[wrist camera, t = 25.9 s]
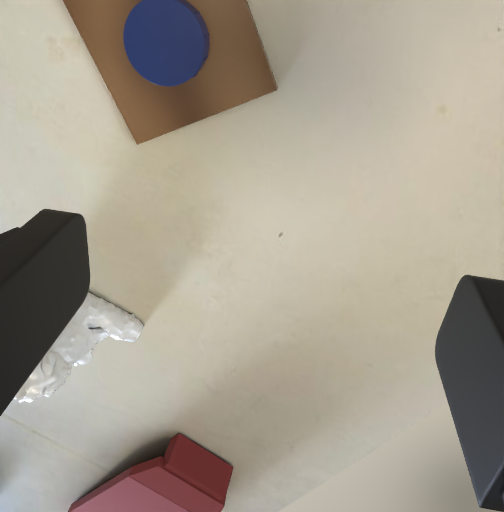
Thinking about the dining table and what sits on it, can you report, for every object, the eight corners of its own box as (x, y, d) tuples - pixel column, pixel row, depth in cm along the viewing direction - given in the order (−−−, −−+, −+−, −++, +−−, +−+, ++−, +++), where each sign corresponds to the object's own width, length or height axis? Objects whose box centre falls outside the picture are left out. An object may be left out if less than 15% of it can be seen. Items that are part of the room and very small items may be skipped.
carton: (148, 520, 72) (245, 475, 58) (135, 554, 68) (236, 516, 54) (80, 481, 69) (165, 424, 55) (63, 516, 66) (149, 464, 51)
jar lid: (118, 49, 34) (109, 52, 33) (156, -25, 32) (147, -25, 30) (183, 97, 35) (177, 103, 34) (224, 30, 33) (220, 33, 31)
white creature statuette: (83, 358, 51) (24, 453, 41) (27, 301, 48) (-52, 388, 38) (149, 327, 48) (103, 421, 38) (93, 263, 45) (27, 347, 35)
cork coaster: (211, -98, 30) (210, -100, 29) (278, 88, 35) (277, 90, 34) (58, -17, 33) (54, -16, 33) (139, 142, 38) (136, 144, 38)
